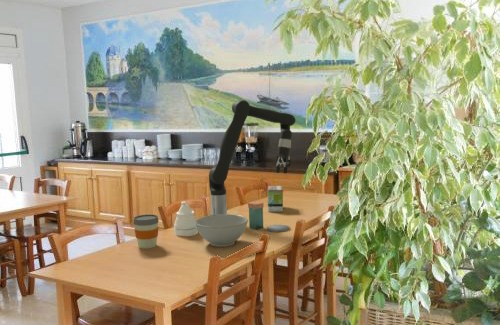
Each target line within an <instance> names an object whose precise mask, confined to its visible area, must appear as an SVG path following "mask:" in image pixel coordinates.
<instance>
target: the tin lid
mask: <svg viewBox="0 0 500 325" xmlns="http://www.w3.org/2000/svg"><path fill="white" fill-rule="evenodd" d="M262 207H263V208H264V207H265V206H264V202H261V201H251V202H248V203H247V208H248V209H249V208H253V209H258V208H262Z"/></svg>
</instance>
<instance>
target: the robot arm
mask: <svg viewBox="0 0 500 325" xmlns="http://www.w3.org/2000/svg"><path fill="white" fill-rule="evenodd" d="M231 111H232V113H233V116H232V119H231V123H230V124H229V125H228V127H227V129H226V130H225V132H224V135H223V137H222V139H221V143H220V147H219V156H218V157H219V158H218V162H217V163H216V166H214V167H212V168H210V170H209V172H208V173H209V174H208V185H209V186H208V187H209V190H210V206H209V211H210V212H209V214H210V215H219V214H228V210H227V209H228V208H227V207H228V206H227V204H228V203H227V189H226V187H225V182H226V180H227V177H228V174H229V170H230V165H231V161H232V160H233V157H234V154H235V151H236V149H237V146H238V143H239V140H240V138H241V134H242V131H243V127H244V126H245V122H246V119H247V118H248V117H253V118H256V119H259V120H263V121H266V122H270V123H273V124H279V126H280V135H279V141H278V147H277V154H278V155H276V156H275V159H274V166H275V167H276V168H275V173H277V174H278V173H280V172H281V165H283V174H288V168H289V167H291V160H292V157H291V155H290V154H291V147H292V136H293V132H292V130H291V126H293V125H295V123H296V117H295V116H294V115H293V114H292V113H286V112H279V111H275V110H272V109H268V108H263V107H257V106H254V105H250V102H248V101H247V100H244V99H243V100H242V99H240V100H236V101H235V102H233V103H232V105H231ZM210 215H209V216H210Z"/></svg>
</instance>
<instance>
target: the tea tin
mask: <svg viewBox="0 0 500 325" xmlns="http://www.w3.org/2000/svg"><path fill="white" fill-rule="evenodd" d="M248 221H249V222H248V225H249V226H248V227H249V229H252V230H255V229H256V230H259V229H264V207H262V208H258V209H253V208H249V207H248Z"/></svg>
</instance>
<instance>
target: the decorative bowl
mask: <svg viewBox="0 0 500 325" xmlns="http://www.w3.org/2000/svg"><path fill="white" fill-rule="evenodd" d="M248 221H249V218H247V217H246V216H243V215H238V214H230V213H229V214H228V213H227V214H219V215H206V216H202V217H199V218H197V219H196V221H195V224H196V227H197V230H198V233H199V235H200V236H201V237H202V238H203V239H204V240H205V241H206V242H208V243H209V244H210V245H211V246H213V247H217V248H218V247H220V248H221V247H222V248H224V247H229V246H232V245H234V244H235V242H236V241H237V240H239V239H240V237H241V236H243V234H244V232H245V230H246V228H247V226H248V223H249V222H248Z"/></svg>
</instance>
